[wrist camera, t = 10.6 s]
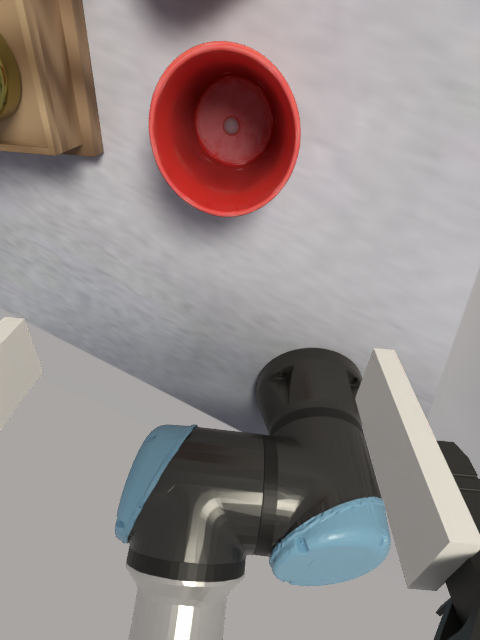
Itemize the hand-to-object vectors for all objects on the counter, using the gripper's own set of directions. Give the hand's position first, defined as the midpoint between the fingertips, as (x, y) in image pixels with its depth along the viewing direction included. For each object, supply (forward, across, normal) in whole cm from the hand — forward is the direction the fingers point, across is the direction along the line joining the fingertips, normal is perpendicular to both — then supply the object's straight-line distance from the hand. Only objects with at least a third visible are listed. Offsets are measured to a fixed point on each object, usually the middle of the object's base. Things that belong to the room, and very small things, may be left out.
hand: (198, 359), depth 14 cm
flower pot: (+27, +1, -5) cm, 27 cm away
